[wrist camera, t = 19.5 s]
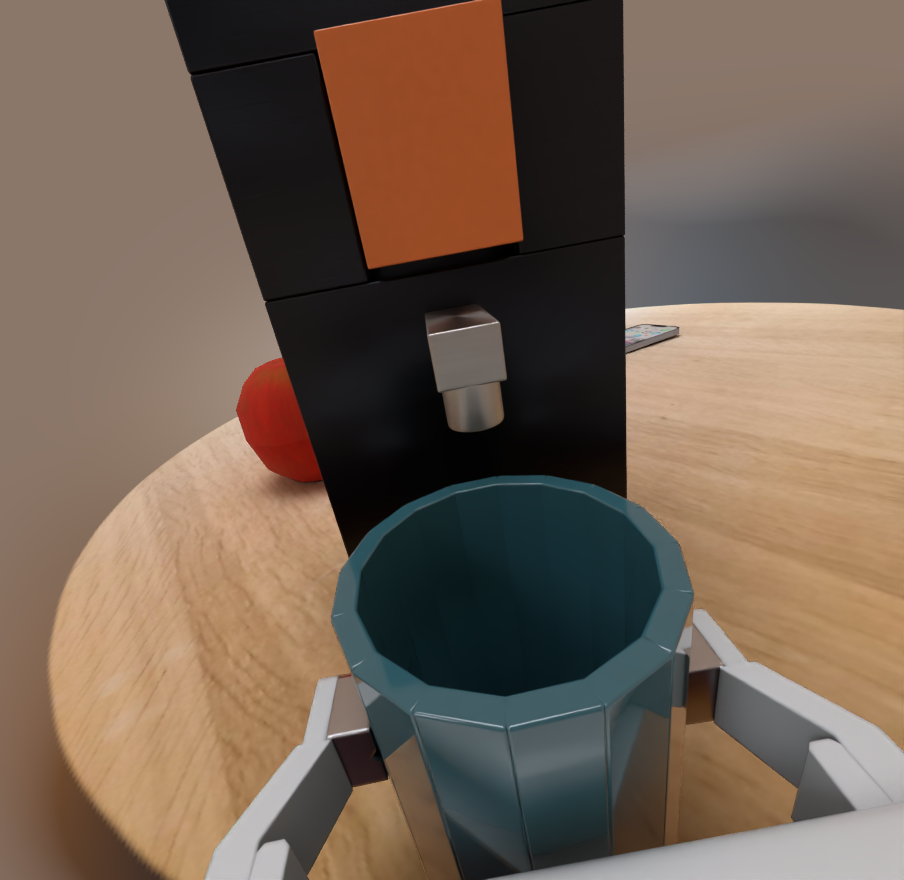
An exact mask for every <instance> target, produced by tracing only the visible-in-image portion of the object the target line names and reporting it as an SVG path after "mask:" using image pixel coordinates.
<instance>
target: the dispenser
mask: <svg viewBox="0 0 904 880" xmlns="http://www.w3.org/2000/svg"><path fill="white" fill-rule="evenodd" d="M470 1H475V0H165V3H166V6H167V9H168V12H169V15H170V18H171V21H172V24H173V27H174V30H175V33H176V36H177V39H178V42H179V46H180V49H181V52H182V55H183V58H184V61H185V64H186V67H187V70H188V72H189V73H190V74H191V75H192V76H191V81H192V85H193V88H194V91H195V94H196V97H197V100H198V103H199V106H200V109H201V112H202V115H203V118H204V121H205V124H206V127H207V130H208V133H209V136H210V139H211V142H212V145H213V148H214V151H215V154H216V157H217V160H218V163H219V166H220V169H221V172H222V175H223V179H224V182H225V184H226V187H227V191H228V193H229V197H230V200H231V203H232V206H233V209H234V212H235V215H236V218H237V221H238V224H239V227H240V230H241V233H242V236H243V239H244V242H245V245H246V248H247V251H248V254H249V257H250V260H251V263H252V266H253V269H254V272H255V275H256V278H257V281H258V284H259V287H260V290H261V293H262V297H263V299H264V301H267V302H266V303H265V306H266V309H267V312H268V315H269V318H270V321H271V324H272V327H273V330H274V333H275V336H276V339H277V342H278V345H279V348H280V351H281V354H282V358H283V361H284V364H285V367H286V370H287V373H288V376H289V379H290V382H291V385H292V388H293V391H294V394H295V397H296V400H297V403H298V406H299V409H300V412H301V415H302V418H303V421H304V424H305V427H306V430H307V433H308V436H309V439H310V442H311V445H312V448H313V451H314V454H315V457H316V460H317V463H318V466H319V469H320V472H321V476H322V479H323V482H324V485H325V488H326V491H327V494H328V497H329V500H330V503H331V506H332V509H333V512H334V515H335V518H336V521H337V524H338V527H339V530H340V533H341V536H342V539H343V542H344V545H345V548H346V551H347V554H348V557H350V556H351V555H352V553H353V552H354V550H355V549H356V548H357V546H358V545H359V544H360V542H361V541H362V539H363V538H364V537H365V535H366V534H368V532H369V531H370V530H371V529H373V528H374V527H375V526H377V525H378V524H379V523H381V522H382V521H383V520H385V519H386V518H387V517H389V516H390V515H392V514H393V513H394V512H396V511H397V510H398V509H400V508H401V507H402V506H404V505H406V504H408V503H410V502H412V501H415V500H417V499H419V498H422V497H424V496H426V495H429V494H431V493H433V492H436V491H438V490H440V489H443V488H445V487H447V486H451V485H455V484H460V483H465V482H469V481H474V480H479V479H484V478H489V477H494V476H519V475H545V476H554V477H559V478H564V479H569V480H574V481H579V482H585V483H590V484H594V485H595V486H596V485H597V486H600V487H602V488H604V489H606V490H608V491H610V492H613V493H615V494H617V495H619V496H621V497H623V498H625V499H627V467H626V348H625V238H624V236H623V235H625V190H624V189H625V188H624V187H625V182H624V67H623V66H624V62H623V61H624V55H623V0H501V5H502V16H503V26H504V37H505V48H506V58H507V69H508V80H509V90H510V101H511V112H512V122H513V133H514V144H515V154H516V165H517V176H518V186H519V197H520V207H521V218H522V229H523V241H520V242H514V243H509V244H504V245H498V246H493V247H488V248H482V249H477V250H471V251H466V252H461V253H455V254H450V255H444V256H439V257H434V258H428V259H423V260H418V261H412V262H407V263H401V264H396V265H391V266H385V267H380V268H374V269H368V267H367V262H366V258H365V254H364V249H363V245H362V241H361V236H360V232H359V228H358V223H357V219H356V215H355V210H354V206H353V202H352V197H351V193H350V189H349V184H348V180H347V176H346V171H345V167H344V163H343V158H342V154H341V150H340V146H339V141H338V137H337V133H336V128H335V124H334V120H333V115H332V111H331V107H330V102H329V98H328V94H327V89H326V85H325V81H324V76H323V72H322V68H321V63H320V59H319V55H318V50H317V46H316V42H315V37H314V31H315V30H320V29H325V28H330V27H336V26H341V25H346V24H352V23H357V22H363V21H368V20H373V19H379V18H384V17H389V16H395V15H400V14H405V13H411V12H416V11H422V10H427V9H432V8H438V7H443V6H448V5H454V4H459V3H464V2H470Z"/></svg>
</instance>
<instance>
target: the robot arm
mask: <svg viewBox="0 0 904 880" xmlns="http://www.w3.org/2000/svg"><path fill="white" fill-rule="evenodd" d="M708 721H714V723H715V724H716V725H717V726H719V727H720V728H721V729H722V730H724V731H725V732H726V733H728V734H729V735H730V736H731V737H733V738H734V739H735V740H736V741H738V742H739V743H740V744H742V745H743V746H744V747H745V748H747V749H748V750H749V751H750V752H752V753H753V754H754V755H756V756H757V757H758V758H759V759H761V760H762V761H763V762H764V763H766V764H767V765H768V766H769V767H771V768H772V769H773V770H775V771H776V772H777V773H778V774H780V775H781V776H782V777H783V778H785V779H786V780H787V781H789V782H790V783H791V784H792V785H794V786H795V787H796V788H797V789H798V790H797V794H796V798H795V802H794V807H793V811H792V815H791V818H792V819H793V821H794V822H792V823H787V824H781V825H776V826H770V827H765V828H760V829H754V830H749V831H743V832H738V833H733V834H727V835H722V836H716V837H711V838H706V839H700V840H695V841H689V842H684V843H679V844H673V845H668V846H662V847H657V848H652V849H646V850H641V851H635V852H630V853H625V854H619V855H614V856H608V857H603V858H597V859H592V860H587V861H581V862H576V863H571V864H565V865H560V866H554V867H549V868H544V869H538V870H533V871H528V872H522V873H517V874H511V875H506V876H501V877H495V878H490V879H485V880H904V752H903V751H902V750H901V749H900V748H899V747H898V746H897V745H896V744H895V743H894V742H893V741H892V740H891V739H890V738H889V737H888V736H887V735H886V734H885V733H884V732H883V731H882V730H881V729H880V728H879V727H878V726H876V725H874V724H872V723H870V722H868V721H866V720H864V719H863V718H861V717H859V716H857V715H855V714H853V713H851V712H849V711H848V710H846V709H844V708H842V707H840V706H838V705H836V704H834V703H833V702H831V701H829V700H827V699H825V698H823V697H821V696H819V695H818V694H816V693H814V692H812V691H810V690H808V689H806V688H805V687H803V686H801V685H799V684H797V683H795V682H793V681H791V680H790V679H788V678H786V677H784V676H782V675H780V674H778V673H776V672H775V671H773V670H771V669H769V668H767V667H765V666H763V665H761V664H760V663H758V662H756V661H752V662H748V660H747V659H746V658H745V657H744V656H743V654H742V653H741V652H740V651H739V650H738V648H737V647H736V646H735V645H734V644H733V642H732V641H731V640H730V639H729V638H728V636H727V635H726V634H725V633H724V632H723V630H722V629H721V628H720V627H719V626H718V624H717V623H716V622H715V621H714V620H713V618H712V617H711V616H710V615H709V614H708V612H707V611H705V610H704V609H696V610H693V624H692V638H691V652H690V666H689V680H688V694H687V708H686V722H685V725H689V724H695V723H702V722H708ZM385 780H388V773H387V770H386V768H385V765H384V762H383V760H382V757H381V754H380V752H379V749H378V746H377V744H376V741H375V738H374V736H373V733H372V730H371V728H370V725H369V722H368V720H367V717H366V714H365V712H364V709H363V706H362V704H361V701H360V698H359V696H358V693H357V690H356V687H355V685H354V682H353V679H352V677H351V674H350V673H349V674H343V675H338V676H332V677H326V678H320V680H319V682H318V684H317V685H316V690H315V694H314V698H313V702H312V706H311V710H310V715H309V719H308V723H307V727H306V731H305V735H304V739H303V744H301V745H297V746H296V747H295V748H294V749H293V751H292V752H291V753H290V754H289V756H288V757H287V758H286V759H285V761H284V762H283V763H282V765H281V766H280V767H279V768H278V770H277V771H276V772H275V773H274V775H273V776H272V777H271V779H270V780H269V781H268V782H267V784H266V785H265V786H264V787H263V789H262V790H261V791H260V793H259V794H258V795H257V796H256V798H255V799H254V800H253V801H252V803H251V804H250V805H249V807H248V808H247V809H246V810H245V812H244V813H243V814H242V815H241V817H240V818H239V819H238V821H237V822H236V823H235V824H234V826H233V827H232V828H231V829H230V831H229V832H228V833H227V835H226V836H225V837H224V838H223V840H222V841H221V842H220V843H219V845H218V846H217V847H216V849H215V850H214V853H213V856H212V859H211V861H210V864H209V867H208V870H207V873H206V876H205V879H204V880H309V879H308V877H307V875H308V874H309V872H310V870H311V868H312V866H313V864H314V862H315V860H316V859H317V857H318V855H319V853H320V851H321V849H322V847H323V845H324V844H325V842H326V840H327V838H328V836H329V834H330V832H331V830H332V829H333V827H334V825H335V823H336V821H337V819H338V817H339V815H340V814H341V812H342V810H343V808H344V806H345V804H346V802H347V800H348V799H349V797H350V795H351V793H352V791H353V787H357V786H362V785H366V784H371V783H375V782H380V781H385Z"/></svg>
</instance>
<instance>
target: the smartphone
mask: <svg viewBox="0 0 904 880" xmlns="http://www.w3.org/2000/svg"><path fill="white" fill-rule="evenodd" d="M677 334H679V327H676V326H663V325H651V324H641V325H637V326H634V327H631V328H628V329H625V348H626V353H627V352H630V351H632V350H635V349H638V348H641V347H644V346H646V345H649V344H652V343H655V342H657V341H661V340H664V339H666V338H668V337H673V336H675V335H677Z"/></svg>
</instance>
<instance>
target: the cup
mask: <svg viewBox="0 0 904 880" xmlns="http://www.w3.org/2000/svg"><path fill="white" fill-rule="evenodd" d="M693 610H694V591H693V587H692V584H691V581H690V577H689V574H688V571H687V567H686V564H685V561H684V557H683V554H682V551H681V547H680V545H679V544H678V541H677V540H676V539H675V538H674V537H673V536H672V535H671V534H670V533H669V532H668V531H667V530H666V529H665V528H664V527H663V526H662V525H661V524H660V523H659V522H658V521H657V520H656V519H655V518H654V517H653V516H652V515H651V514H650V513H649V512H648V511H647V510H646V509H645V508H644V507H641V506H640V505H638V504H636V503H634V502H632V501H630V500H627V499H625V498H623V497H621V496H619V495H617V494H615V493H613V492H610V491H608V490H606V489H604V488H602V487H600V486H597V485H596V486H595V485H594V484H590V483H585V482H579V481H574V480H569V479H564V478H559V477H554V476H545V475H519V476H494V477H489V478H484V479H479V480H474V481H469V482H465V483H460V484H455V485H451V486H447V487H445V488H443V489H440V490H438V491H436V492H433V493H431V494H429V495H426V496H424V497H422V498H419V499H417V500H415V501H412V502H410V503H408V504H406V505H404V506H402V507H401V508H400V509H398V510H397V511H396V512H394V513H393V514H392V515H390V516H389V517H387V518H386V519H385V520H383V521H382V522H381V523H379V524H378V525H377V526H375V527H374V528H373V529H371V530H370V531H369V532H368V534H366V535H365V537H364V538H363V539H362V541H361V542H360V544H359V545H358V546H357V548H356V549H355V550H354V552H353V553H352V555H351V556H350V557H349V559H348V560H347V562H346V563H345V564H344V566H343V567H342V569H341V572H340V573H339V578H338V583H337V588H336V594H335V599H334V604H333V610H332V615H331V619H332V621H331V623H332V626H333V629H334V631H335V634H336V637H337V639H338V642H339V645H340V647H341V650H342V653H343V655H344V658H345V661H346V663H347V666H348V669H349V671H350V674H351V677H352V679H353V682H354V685H355V687H356V690H357V693H358V696H359V698H360V701H361V704H362V706H363V709H364V712H365V714H366V717H367V720H368V722H369V725H370V728H371V730H372V733H373V736H374V738H375V741H376V744H377V746H378V749H379V752H380V754H381V757H382V760H383V762H384V765H385V768H386V770H387V773H388V776H389V779H390V781H391V784H392V787H393V789H394V792H395V795H396V797H397V800H398V803H399V805H400V808H401V811H402V813H403V816H404V819H405V821H406V824H407V827H408V829H409V832H410V835H411V837H412V840H413V843H414V845H415V848H416V851H417V854H418V856H419V859H420V861H421V864H422V867H423V869H424V872H425V874H426V877H427V879H428V880H485V879H490V878H495V877H501V876H506V875H511V874H517V873H522V872H528V871H533V870H538V869H544V868H549V867H554V866H560V865H565V864H571V863H576V862H581V861H587V860H592V859H597V858H603V857H608V856H614V855H619V854H625V853H630V852H635V851H641V850H646V849H652V848H657V847H662V846H668V845H673V844H677V834H678V820H679V806H680V792H681V778H682V764H683V750H684V736H685V722H686V708H687V694H688V680H689V666H690V652H691V638H692V624H693Z"/></svg>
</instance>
